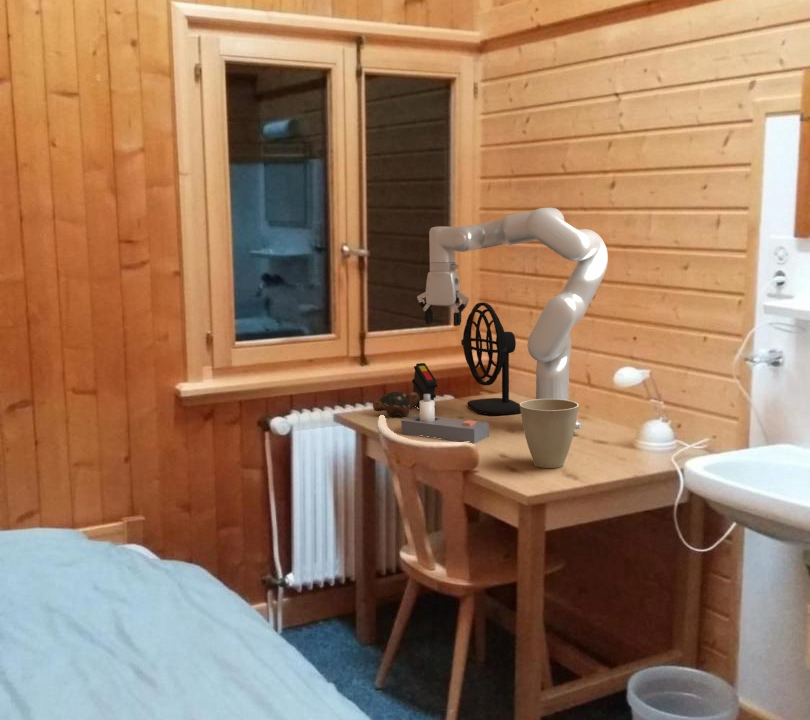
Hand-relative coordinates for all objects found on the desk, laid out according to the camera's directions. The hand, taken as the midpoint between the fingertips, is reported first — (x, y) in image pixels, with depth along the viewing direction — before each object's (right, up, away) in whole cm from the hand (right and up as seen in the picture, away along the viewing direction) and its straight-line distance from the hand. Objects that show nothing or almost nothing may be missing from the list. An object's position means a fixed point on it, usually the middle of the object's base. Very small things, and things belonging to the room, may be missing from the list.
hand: (443, 324), depth 296 cm
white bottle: (-5, -32, -8) cm, 33 cm away
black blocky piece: (-5, -27, +22) cm, 36 cm away
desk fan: (+17, -27, +22) cm, 39 cm away
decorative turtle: (-14, -29, +15) cm, 36 cm away
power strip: (0, -33, -11) cm, 34 cm away
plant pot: (+26, -38, -43) cm, 63 cm away
